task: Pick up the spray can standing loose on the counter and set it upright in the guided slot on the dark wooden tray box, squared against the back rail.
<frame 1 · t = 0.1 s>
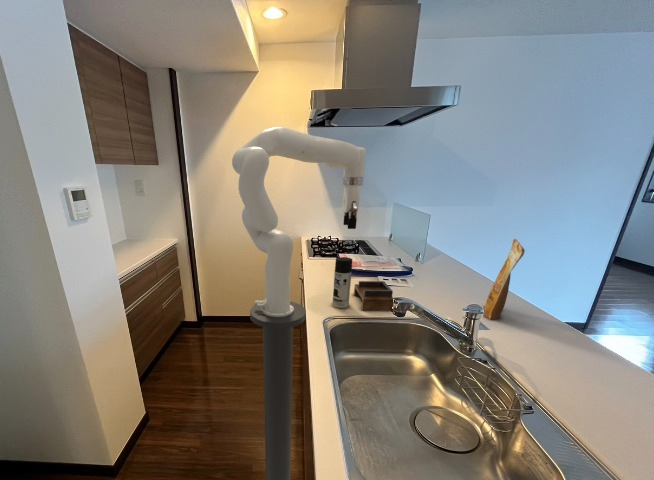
hand: (349, 226, 130), 31 cm above the worktop, tool pointing down, fingers open, 9 cm apart
dark wooden tray box: (371, 302, 136), on the worktop
pancake mix bag: (493, 313, 125), on the worktop
spray can: (340, 305, 133), on the worktop
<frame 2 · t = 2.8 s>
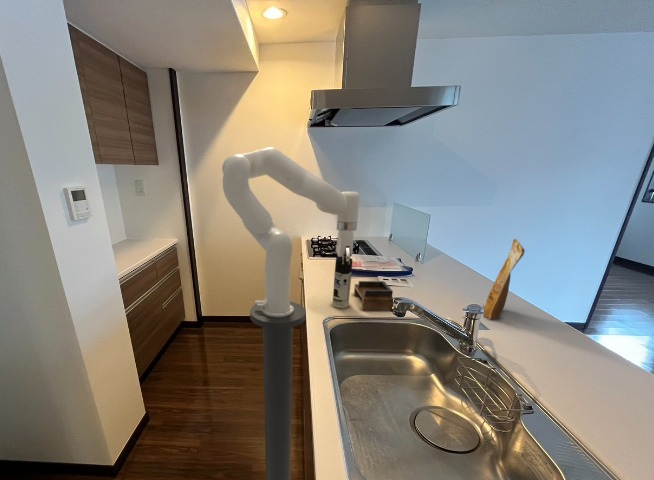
hand: (343, 270, 127), 15 cm above the worktop, tool pointing down, fingers closed on spray can, 6 cm apart
spray can: (340, 305, 133), on the worktop, touching gripper
everything else where it was.
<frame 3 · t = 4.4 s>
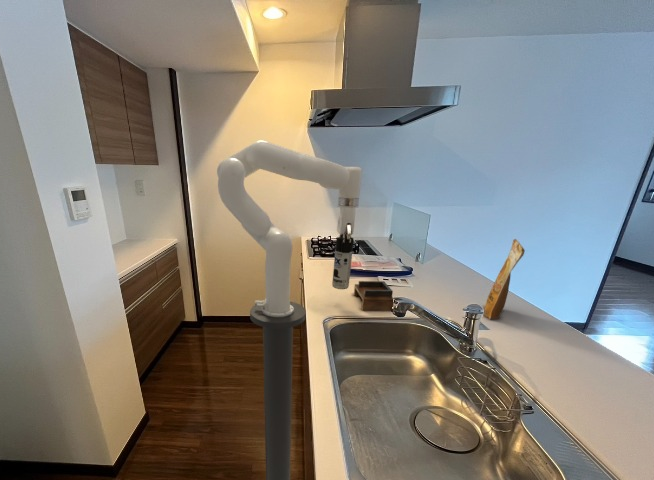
hand: (343, 250, 124), 24 cm above the worktop, tool pointing down, fingers closed on spray can, 6 cm apart
spray can: (340, 287, 130), point 8 cm above the worktop, touching gripper
everything else where it was.
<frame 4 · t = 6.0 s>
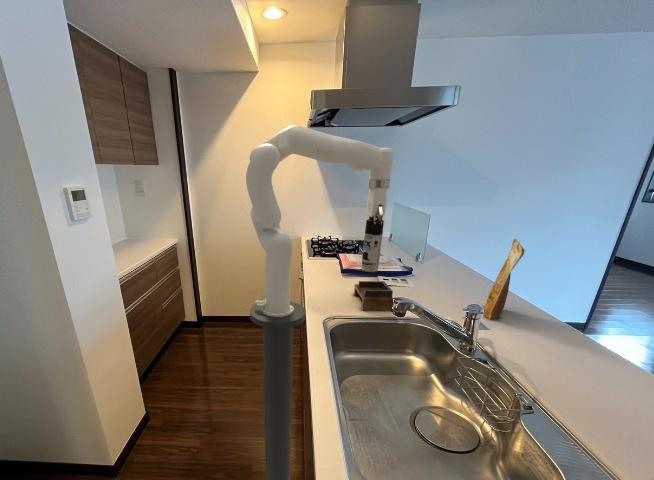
hand: (373, 232, 124), 30 cm above the worktop, tool pointing down, fingers closed on spray can, 6 cm apart
spray can: (369, 270, 130), point 14 cm above the worktop, touching gripper
everything else where it was.
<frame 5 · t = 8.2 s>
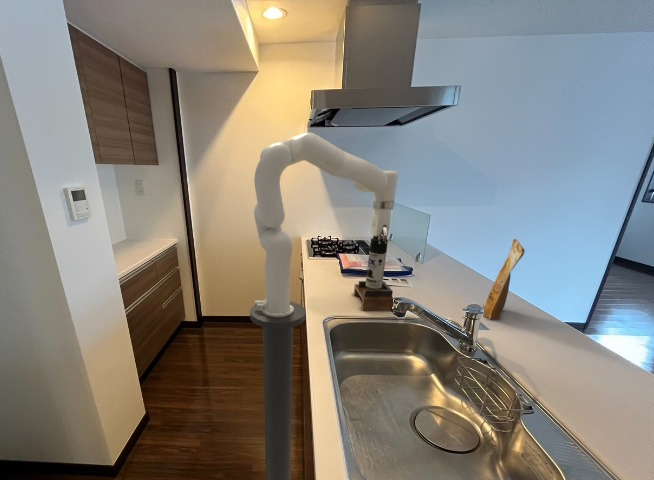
hand: (377, 251, 128), 22 cm above the worktop, tool pointing down, fingers closed on spray can, 6 cm apart
spray can: (373, 287, 133), point 7 cm above the worktop, touching gripper
everything else where it was.
when the fingers open (20 cm above the worktop, at t = 9.4 s): spray can stays where it is, resting on dark wooden tray box.
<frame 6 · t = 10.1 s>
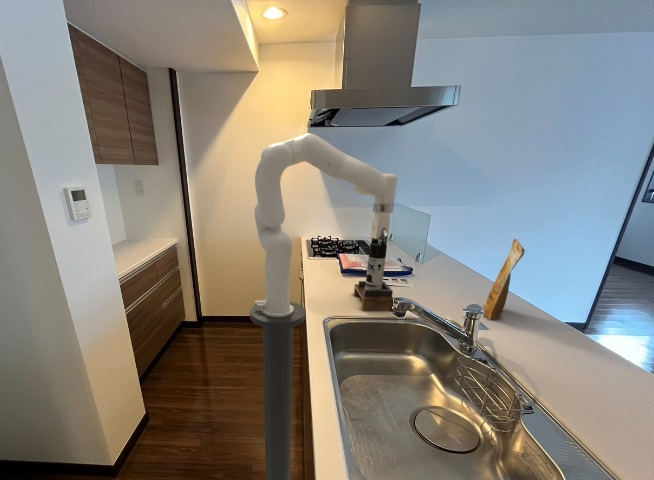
hand: (377, 252, 128), 22 cm above the worktop, tool pointing down, fingers open, 9 cm apart
spray can: (372, 291, 134), point 5 cm above the worktop, touching dark wooden tray box
everything else where it was.
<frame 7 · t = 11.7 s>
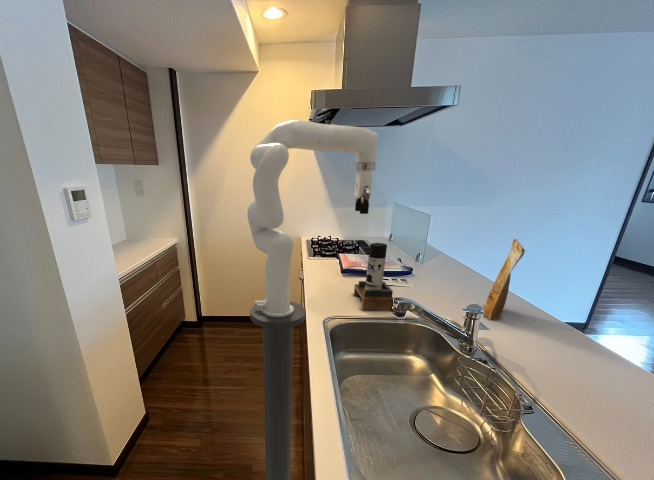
hand: (361, 212, 132), 36 cm above the worktop, tool pointing down, fingers open, 9 cm apart
nothing on the worktop moved.
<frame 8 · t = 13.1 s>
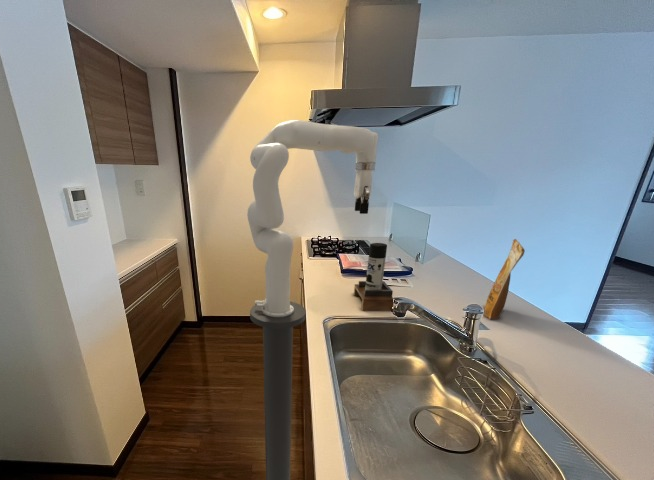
hand: (360, 212, 132), 36 cm above the worktop, tool pointing down, fingers open, 9 cm apart
nothing on the worktop moved.
at the end: spray can 0.1 cm off-centre on the dark wooden tray box, point 4.8 cm above the dark wooden tray box's base; spray can tilted 0°; the gripper is holding nothing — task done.
